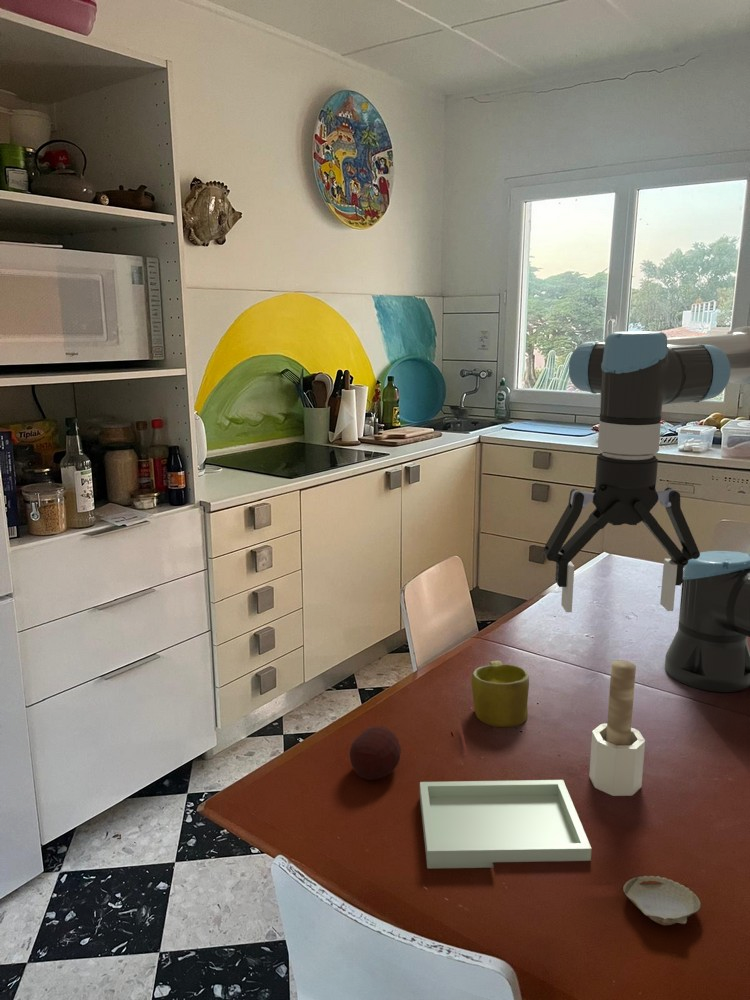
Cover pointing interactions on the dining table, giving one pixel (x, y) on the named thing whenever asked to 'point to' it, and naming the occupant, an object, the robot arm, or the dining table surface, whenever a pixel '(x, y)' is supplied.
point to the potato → (375, 753)
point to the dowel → (620, 702)
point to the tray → (500, 823)
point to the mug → (500, 694)
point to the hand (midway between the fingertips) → (616, 608)
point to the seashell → (662, 899)
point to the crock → (616, 763)
